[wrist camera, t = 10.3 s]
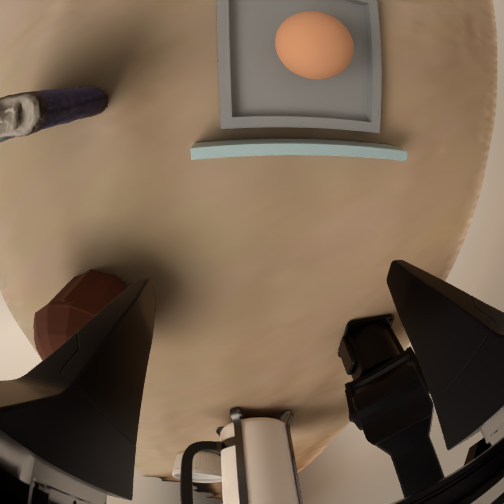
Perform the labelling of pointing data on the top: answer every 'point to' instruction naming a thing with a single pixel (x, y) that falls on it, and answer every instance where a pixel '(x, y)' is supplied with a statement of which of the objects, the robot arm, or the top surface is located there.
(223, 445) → the coffee press
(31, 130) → the flask
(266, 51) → the dish
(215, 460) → the ramekin
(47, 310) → the muffin
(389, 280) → the robot arm
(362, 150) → the acrylic walls
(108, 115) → the top surface
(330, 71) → the ball
